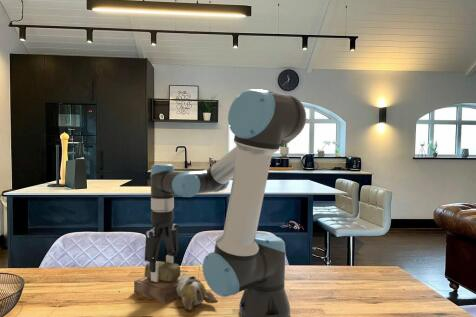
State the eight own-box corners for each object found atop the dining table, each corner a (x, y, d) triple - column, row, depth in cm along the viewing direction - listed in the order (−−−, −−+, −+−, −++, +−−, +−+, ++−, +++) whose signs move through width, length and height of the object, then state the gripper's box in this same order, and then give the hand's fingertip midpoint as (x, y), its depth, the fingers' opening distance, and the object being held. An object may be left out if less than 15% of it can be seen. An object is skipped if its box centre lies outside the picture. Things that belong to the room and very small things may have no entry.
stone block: (173, 283, 116) (172, 268, 116) (142, 279, 120) (142, 264, 120) (181, 277, 121) (181, 262, 121) (152, 273, 125) (152, 259, 125)
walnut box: (189, 290, 122) (189, 278, 122) (164, 303, 112) (164, 290, 112) (159, 281, 130) (159, 269, 129) (134, 292, 120) (134, 280, 119)
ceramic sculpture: (198, 265, 121) (220, 283, 109) (197, 290, 122) (219, 310, 110) (168, 271, 116) (188, 291, 103) (168, 297, 116) (187, 319, 104)
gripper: (173, 204, 130) (173, 267, 131) (132, 213, 113) (132, 284, 114) (189, 206, 126) (189, 271, 127) (148, 216, 109) (148, 289, 110)
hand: (162, 277), depth 121 cm, fingers closed on stone block, 6 cm apart
